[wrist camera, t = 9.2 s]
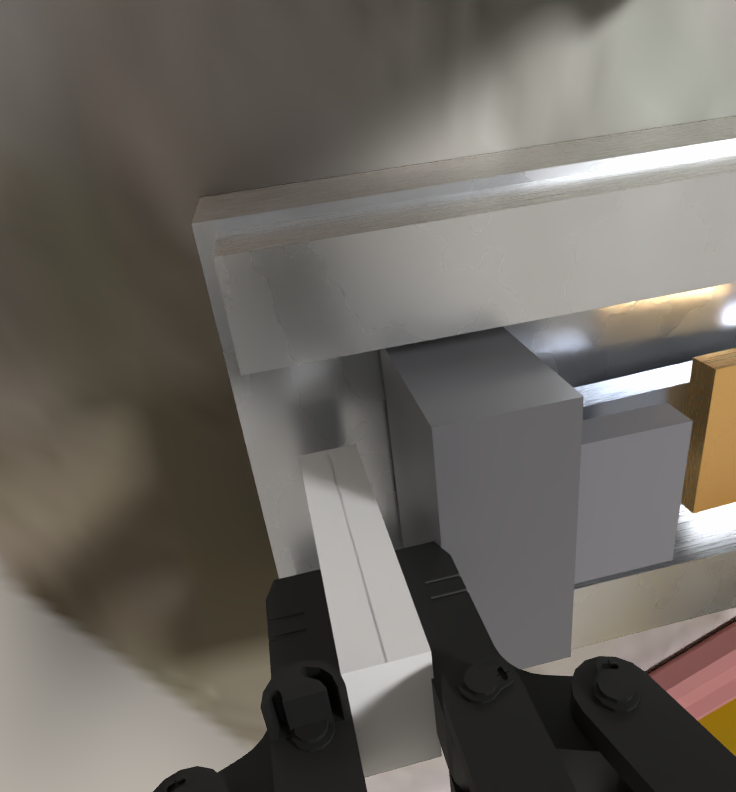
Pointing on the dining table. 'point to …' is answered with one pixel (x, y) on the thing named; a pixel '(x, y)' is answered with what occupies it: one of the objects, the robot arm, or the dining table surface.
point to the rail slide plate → (479, 313)
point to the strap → (698, 400)
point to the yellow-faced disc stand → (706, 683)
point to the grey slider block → (526, 482)
